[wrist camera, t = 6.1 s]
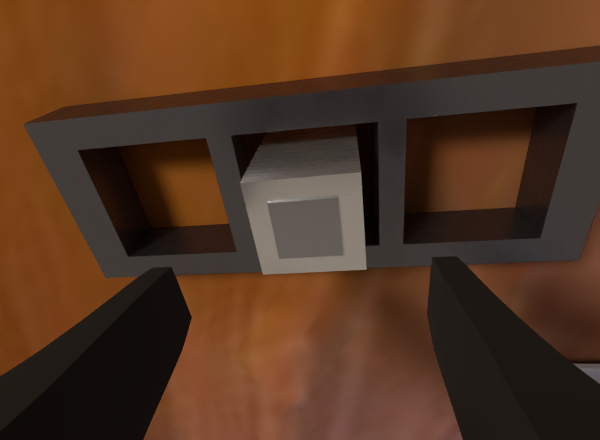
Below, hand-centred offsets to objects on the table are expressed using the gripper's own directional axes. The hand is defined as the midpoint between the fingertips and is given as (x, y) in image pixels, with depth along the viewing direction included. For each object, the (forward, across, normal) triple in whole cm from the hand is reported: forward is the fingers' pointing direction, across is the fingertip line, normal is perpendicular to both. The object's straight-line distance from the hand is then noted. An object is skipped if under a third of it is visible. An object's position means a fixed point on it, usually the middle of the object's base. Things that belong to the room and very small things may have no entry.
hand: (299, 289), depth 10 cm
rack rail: (+8, 0, 0) cm, 8 cm away
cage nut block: (+8, 0, 0) cm, 8 cm away
